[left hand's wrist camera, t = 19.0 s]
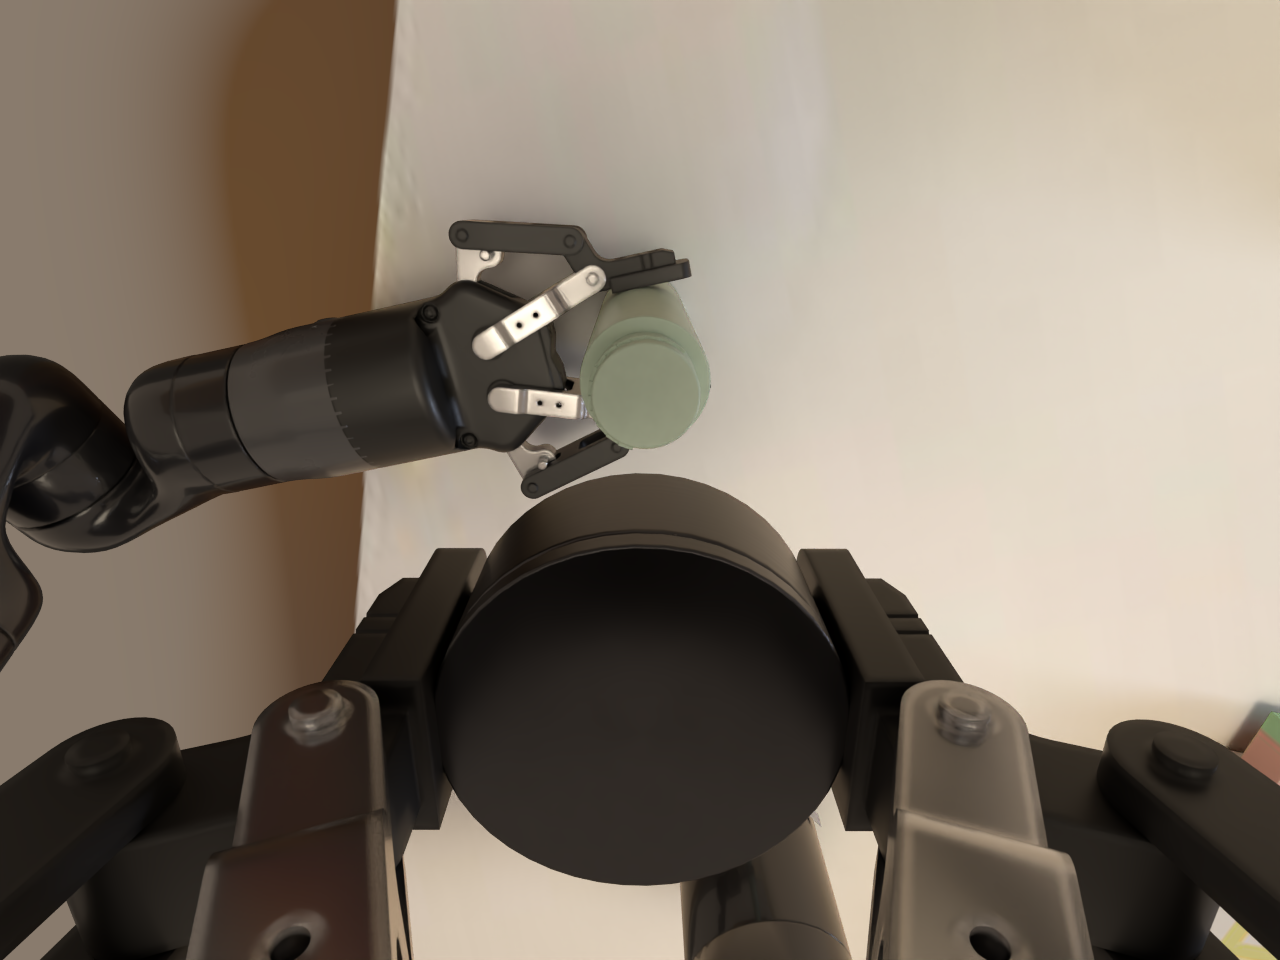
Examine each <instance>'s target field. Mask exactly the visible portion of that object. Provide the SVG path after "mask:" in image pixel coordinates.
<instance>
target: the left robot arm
mask: <svg viewBox="0 0 1280 960" xmlns="http://www.w3.org/2000/svg"><path fill="white" fill-rule="evenodd" d="M486 559H487V557H486V553H485V550H484V549H483V548H438V549H436V550H435V552H434V553H433V555H432V557H431V559H430V560H429V562H428V564H427V565H426V567H425V569H424V571H423V572H422V574H421V576H420V577H419V578H402V579H401V580H399V581H398V582H396V583H395V584H393V585H392V586H391V587H389V588H388V589H386V590H385V591H383V592H382V593H380V594H379V595H378V597H377V598H376V600H375V601H374V603H373V604H372V606H371V608H370V609H369V611H368V612H367V616H366V617H364V618H363V620H362V621H361V623H360V624H359V626H358V627H357V629H356V634H353V635H352V636H351V638H350V639H349V641H348V642H347V644H346V645H345V647H344V648H343V650H342V651H341V653H340V655H339V656H338V658H337V659H336V661H335V662H334V664H333V665H332V667H331V668H330V670H329V671H328V673H327V674H326V676H325V677H324V679H323V680H322V682H318V683H314V684H310V685H307V686H304V687H301V688H298V689H296V690H294V691H292V692H289V693H287V694H286V695H284V696H282V697H280V698H279V699H277V700H276V701H274V702H273V703H272V704H270V705H269V706H268V707H267V708H266V709H265V710H264V711H263V712H262V713H261V714H260V715H259V717H258V718H257V720H256V722H255V723H254V726H253V729H252V734H251V735H248V736H244V737H240V738H236V739H231V740H227V741H222V742H217V743H212V744H208V745H204V746H199V747H194V748H189V749H184V750H180V748H179V744H178V741H177V737H176V734H175V731H174V729H173V727H172V726H171V725H170V724H168V723H166V722H165V721H163V720H159V719H155V718H147V717H142V718H128V719H122V720H117V721H112V722H109V723H105V724H102V725H99V726H96V727H93V728H91V729H88V730H85V731H83V732H81V733H79V734H77V735H74V736H72V737H71V738H69V739H67V740H65V741H63V742H62V743H60V744H59V745H57V746H56V747H54V748H52V749H51V750H50V751H48V752H47V753H45V754H44V755H43V756H41V757H40V758H38V759H37V760H36V761H34V762H33V763H31V764H30V765H28V766H27V767H26V768H24V769H23V770H22V771H20V772H19V773H17V774H16V775H15V776H13V777H12V778H10V779H9V780H8V781H6V782H5V783H3V784H2V785H1V786H0V960H3V959H4V958H5V957H6V956H7V955H8V954H10V953H11V952H12V951H13V950H14V949H15V948H16V947H17V946H18V945H19V944H20V943H21V942H22V941H23V940H25V939H26V938H27V937H28V936H29V935H30V934H31V933H32V932H33V931H34V930H35V929H36V928H37V927H38V926H40V925H41V924H42V923H43V922H44V921H45V920H46V919H47V918H48V917H49V916H50V915H51V914H52V913H53V912H55V911H56V910H57V909H58V908H59V907H60V906H61V905H62V904H63V903H64V902H65V901H67V903H68V906H69V908H70V911H71V913H72V916H73V918H74V921H75V924H76V925H75V926H74V927H73V928H72V929H71V930H70V931H69V932H68V933H67V934H66V935H65V936H64V937H63V938H62V939H61V940H60V941H59V942H58V943H57V944H56V945H55V946H54V947H53V948H52V949H51V950H50V951H49V952H48V953H47V954H45V955H44V956H43V957H42V958H41V959H40V960H414V956H413V945H412V934H411V923H410V913H409V902H408V891H407V880H406V870H405V864H404V857H403V854H404V851H405V849H406V846H407V843H408V840H409V838H410V835H411V832H412V830H440V827H441V823H442V820H443V817H444V814H445V811H446V808H447V805H448V801H449V798H450V795H451V792H452V789H453V788H452V786H451V785H450V783H449V781H448V779H447V777H446V775H445V772H444V770H443V765H442V758H441V750H440V742H439V734H438V726H437V718H436V710H435V700H434V688H435V684H436V680H437V676H438V672H439V669H440V666H441V664H442V661H443V659H444V657H445V654H446V652H447V650H448V647H449V645H450V643H451V640H452V638H453V636H454V633H455V631H456V629H457V626H458V624H459V622H460V619H461V617H462V615H463V612H464V610H465V608H466V605H467V603H468V601H469V598H470V596H471V594H472V592H473V589H474V587H475V585H476V582H477V580H478V578H479V575H480V573H481V571H482V568H483V566H484V564H485V561H486ZM797 563H798V565H799V567H800V569H801V571H802V573H803V575H804V578H805V580H806V582H807V585H808V587H809V589H810V592H811V594H812V596H813V598H814V601H815V603H816V605H817V608H818V610H819V612H820V615H821V617H822V619H823V621H824V624H825V626H826V628H827V631H828V633H829V635H830V638H831V640H832V643H833V645H834V647H835V649H836V651H837V654H838V656H839V658H840V661H841V664H842V667H843V670H844V673H845V676H846V679H847V684H848V690H849V696H850V706H849V716H848V724H847V732H846V740H845V748H844V755H843V761H842V764H841V767H840V770H839V772H838V774H837V776H836V778H835V780H834V782H833V784H832V786H831V788H832V791H833V794H834V797H835V800H836V803H837V806H838V809H839V813H840V816H841V819H842V822H843V825H844V828H845V831H873V832H874V835H875V838H876V841H877V843H878V851H877V857H876V864H875V870H874V880H873V891H872V902H871V913H870V924H869V934H868V945H867V956H866V960H1240V959H1239V958H1238V957H1237V956H1236V955H1235V954H1233V953H1232V952H1231V951H1230V950H1229V949H1228V948H1227V947H1226V946H1225V945H1224V944H1223V943H1222V942H1221V941H1220V940H1219V939H1218V938H1217V937H1216V936H1215V935H1214V934H1213V933H1212V932H1211V931H1210V929H1211V927H1212V924H1213V922H1214V919H1215V917H1216V914H1217V912H1218V909H1219V907H1221V908H1222V909H1223V910H1224V911H1225V912H1226V913H1228V914H1229V915H1230V916H1231V917H1232V918H1233V919H1234V920H1235V921H1236V922H1237V923H1238V924H1239V925H1240V926H1242V927H1243V928H1244V929H1245V930H1246V931H1247V932H1248V933H1249V934H1250V935H1251V936H1252V937H1253V938H1254V939H1255V940H1257V941H1258V942H1259V943H1260V944H1261V945H1262V946H1263V947H1264V948H1265V949H1266V950H1267V951H1268V952H1269V953H1271V954H1272V955H1273V956H1274V957H1275V958H1276V959H1277V960H1280V786H1279V785H1278V784H1277V783H1275V782H1274V781H1272V780H1271V779H1270V778H1268V777H1267V776H1266V775H1264V774H1263V773H1261V772H1260V771H1259V770H1257V769H1256V768H1254V767H1253V766H1252V765H1250V764H1249V763H1247V762H1246V761H1245V760H1243V759H1242V758H1240V757H1239V756H1238V755H1236V754H1235V753H1233V752H1232V751H1230V750H1229V749H1227V748H1226V747H1224V746H1223V745H1221V744H1219V743H1217V742H1216V741H1214V740H1212V739H1210V738H1208V737H1206V736H1204V735H1202V734H1199V733H1197V732H1195V731H1192V730H1189V729H1187V728H1184V727H1181V726H1177V725H1174V724H1170V723H1165V722H1161V721H1154V720H1128V721H1124V722H1121V723H1118V724H1117V725H1115V726H1113V727H1112V728H1111V729H1110V731H1109V733H1108V735H1107V738H1106V742H1105V745H1104V749H1103V751H1100V750H1096V749H1091V748H1086V747H1081V746H1077V745H1072V744H1067V743H1063V742H1058V741H1053V740H1049V739H1045V738H1041V737H1037V736H1034V735H1032V734H1029V733H1028V729H1027V726H1026V723H1025V722H1024V720H1023V718H1022V717H1021V715H1020V714H1019V713H1018V712H1017V711H1016V710H1015V709H1014V708H1013V707H1012V706H1011V705H1010V704H1009V703H1007V702H1006V701H1004V700H1003V699H1001V698H1000V697H998V696H996V695H994V694H993V693H991V692H989V691H986V690H984V689H982V688H979V687H976V686H973V685H970V684H966V683H964V682H963V681H962V679H961V678H960V676H959V675H958V673H957V672H956V670H955V669H954V667H953V666H952V664H951V663H950V661H949V660H948V658H947V657H946V655H945V654H944V652H943V651H942V649H941V648H940V646H939V645H938V643H937V642H936V640H935V639H934V637H933V636H932V635H929V630H928V628H927V627H926V625H925V624H924V623H923V621H922V620H921V618H918V614H917V612H916V611H915V609H914V608H913V606H912V605H911V603H910V602H909V600H908V599H907V597H906V596H905V595H904V594H903V593H901V592H900V591H898V590H897V589H896V588H894V587H893V586H891V585H890V584H888V583H887V582H885V581H884V580H882V579H865V578H864V576H863V574H862V572H861V571H860V569H859V567H858V566H857V564H856V562H855V561H854V559H853V557H852V556H851V554H850V552H849V551H848V550H847V549H800V551H799V553H798V556H797Z"/></svg>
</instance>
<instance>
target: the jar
mask: <svg viewBox="0 0 1280 960" xmlns="http://www.w3.org/2000/svg"><path fill="white" fill-rule="evenodd" d="M710 382H711V380H710V369H709V364H708V361H707V358H706V355H705V353H704V351H703V349H702V346H701V344H700V342H699V340H698V337H697V335H696V333H695V331H694V328H693V326H692V324H691V322H690V320H689V317H688V315H687V313H686V311H685V308H684V306H683V304H682V302H681V299H680V297H679V295H678V293H677V292H676V290H675V289H674V288H673V287H672V286H671V285H670V284H669V283H668V282H666V283H661V284H656V285H652V286H647V287H643V288H638V289H632V290H628V291H624V292H619V293H615V294H612V290H611V289H610V290H609V291H608V293H607V294H606V296H605V298H604V300H603V303H602V306H601V309H600V312H599V315H598V318H597V321H596V324H595V327H594V329H593V332H592V335H591V338H590V341H589V344H588V347H587V350H586V353H585V356H584V359H583V362H582V365H581V371H580V391H581V395H582V399H583V402H584V404H585V407H586V409H587V411H588V413H589V414H590V416H591V417H592V418H593V420H594V421H595V422H596V424H597V426H598V427H599V428H600V429H601V430H602V432H603V433H604V434H605V435H606V437H607V438H609V439H611V440H612V441H614V442H615V443H617V444H618V446H621V447H624V448H627V449H630V450H633V448H639V449H652V448H658V447H662V446H665V445H667V444H669V443H671V442H673V441H675V440H677V439H678V438H679V437H681V436H682V435H683V434H684V433H685V432H686V431H687V430H688V429H689V428H690V426H691V425H692V424H693V423H694V422H695V421H696V420H697V418H698V417H699V416H700V414H701V413H702V411H703V409H704V407H705V405H706V402H707V399H708V396H709V391H710Z"/></svg>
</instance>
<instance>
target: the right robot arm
mask: <svg viewBox="0 0 1280 960" xmlns="http://www.w3.org/2000/svg"><path fill="white" fill-rule="evenodd" d="M449 239H450V241H451V243H452V244H453V245H454V246H455V247H456V266H457V282H455V283H453V284H451V285H450V286H449V287H448V288H447V289H446V290H445V291H444V292H443V293H442V294H440V295H438V296H435V297H431V298H427V299H422V300H418V301H413V302H408V303H404V304H399V305H395V306H390V307H386V308H381V309H377V310H372V311H368V312H363V313H358V314H354V315H350V316H345V317H340V318H325V319H321V320H318V321H317V322H315V323H313V324H309V325H304V326H299V327H295V328H292V329H287V330H285V331H282V332H279V333H276V334H274V335H271V336H269V337H266V338H263V339H261V340H258V341H254V342H251V343H247V344H244V345H239V346H235V347H230V348H226V349H221V350H217V351H212V352H207V353H203V354H198V355H192V356H187V357H183V358H179V359H175V360H171V361H167V362H164V363H161V364H158V365H156V366H153V367H151V368H149V369H148V370H146V371H144V372H143V373H142V374H140V375H139V376H138V377H137V378H136V379H135V380H134V382H133V383H132V385H131V386H130V388H129V390H128V392H127V394H126V398H125V403H124V421H125V424H124V423H123V422H122V421H121V420H120V419H119V418H118V417H117V416H116V415H115V414H114V413H113V412H112V411H111V410H110V409H109V408H108V407H107V406H106V405H105V404H104V403H103V402H102V401H101V400H100V399H98V397H97V396H96V395H95V394H94V393H93V392H92V391H91V390H90V389H89V388H88V387H87V386H86V385H85V384H84V383H83V382H81V381H80V380H79V379H78V378H77V377H76V376H75V375H74V374H73V373H71V372H70V371H68V370H67V369H66V368H64V367H63V366H61V365H59V364H58V363H56V362H54V361H51V360H48V359H46V358H42V357H37V356H31V355H6V356H1V357H0V672H1V670H2V669H3V667H4V666H5V665H6V663H7V662H8V660H9V659H10V657H11V656H12V654H13V653H14V651H15V650H16V649H17V647H18V646H19V644H20V643H21V642H22V640H23V639H24V637H25V636H26V634H27V633H28V631H29V630H30V628H31V627H32V625H33V623H34V622H35V620H36V618H37V616H38V614H39V612H40V610H41V607H42V602H43V596H42V590H41V587H40V585H39V583H38V582H37V580H36V579H35V577H34V576H33V575H32V573H31V572H30V570H29V569H28V568H27V566H26V565H25V564H24V563H23V561H22V560H21V559H20V557H19V556H18V555H17V553H16V552H15V550H14V549H13V547H12V545H11V544H10V542H9V539H8V537H7V534H6V528H5V524H6V522H8V523H9V524H11V525H12V526H13V527H15V528H16V529H18V530H19V531H20V532H22V533H23V534H25V535H26V536H27V537H29V538H30V539H32V540H33V541H35V542H37V543H39V544H41V545H43V546H45V547H48V548H51V549H54V550H59V551H64V552H79V553H92V552H100V551H106V550H109V549H113V548H116V547H118V546H121V545H123V544H125V543H127V542H129V541H131V540H133V539H135V538H137V537H139V536H141V535H142V534H144V533H146V532H148V531H150V530H151V529H153V528H155V527H157V526H159V525H161V524H163V523H165V522H167V521H169V520H171V519H173V518H175V517H177V516H179V515H181V514H183V513H185V512H187V511H189V510H191V509H193V508H195V507H197V506H199V505H201V504H203V503H205V502H207V501H209V500H211V499H213V498H215V497H217V496H220V495H222V494H227V493H233V492H239V491H243V490H248V489H253V488H258V487H262V486H267V485H272V484H277V483H282V482H287V481H293V480H301V479H319V478H330V477H337V476H342V475H347V474H352V473H358V472H363V471H368V470H372V469H377V468H382V467H387V466H392V465H397V464H402V463H407V462H412V461H417V460H422V459H427V458H432V457H437V456H442V455H447V454H452V453H457V452H462V451H466V450H470V449H475V448H486V449H491V450H495V451H498V452H507V453H508V455H509V457H510V458H511V460H512V462H513V463H514V465H515V467H516V468H517V470H518V472H519V473H520V475H521V476H522V478H523V481H522V484H521V491H522V493H523V494H524V495H525V496H526V497H528V498H531V499H536V498H539V497H541V496H543V495H545V494H547V493H549V492H551V491H554V490H556V489H558V488H560V487H562V486H564V485H566V484H568V483H570V482H572V481H574V480H576V479H578V478H581V477H583V476H585V475H587V474H589V473H591V472H593V471H595V470H597V469H599V468H601V467H603V466H606V465H608V464H610V463H612V462H614V461H616V460H618V459H620V458H622V457H624V456H625V455H626V454H627V453H628V451H629V449H627V448H624V447H621V446H618V444H617V443H615V442H614V441H612V440H611V439H609V438H607V437H606V435H605V434H604V433H603V432H602V430H601V429H599V430H597V431H595V432H593V433H591V434H589V435H587V436H585V437H583V438H581V439H579V440H576V441H574V442H572V443H570V444H568V445H566V446H564V447H562V448H560V449H558V450H556V449H555V447H553V446H552V445H550V444H542V445H538V446H535V445H531V444H529V443H528V442H527V441H526V439H527V438H528V437H529V436H530V435H531V434H532V433H533V432H534V430H535V429H536V428H537V427H538V426H539V425H540V424H541V423H542V422H543V420H544V419H545V418H546V417H547V416H550V417H559V418H567V419H584V418H592V417H591V416H590V414H589V413H588V411H587V409H586V407H585V404H584V402H583V399H582V395H581V391H580V378H574V377H567V376H566V372H565V368H564V364H563V362H562V361H561V359H560V357H559V355H558V353H557V352H556V332H555V328H554V324H553V320H555V319H556V318H558V317H559V316H561V315H562V314H564V313H565V312H567V311H568V310H569V309H571V308H573V307H574V306H576V305H577V304H579V303H581V302H582V301H584V300H586V299H587V298H589V297H590V296H592V295H594V294H595V293H597V292H601V291H605V290H610V289H611V290H612V294H615V293H619V292H624V291H628V290H632V289H638V288H643V287H647V286H652V285H656V284H661V283H666V282H670V281H675V280H679V279H684V278H688V277H690V276H692V275H691V270H690V264H689V260H688V259H687V258H686V259H679V260H675V255H674V252H673V250H668V249H663V248H660V249H656V250H651V251H647V252H642V253H638V254H633V255H629V256H624V257H620V258H615V259H605V258H602V257H600V256H599V255H598V254H597V253H596V252H595V250H594V248H593V247H592V245H591V244H590V242H589V240H588V239H587V235H586V233H585V231H584V230H583V229H582V228H581V227H579V226H575V225H558V224H541V223H524V222H506V221H489V220H462V221H457V222H455V223H453V224H452V226H451V227H450V229H449ZM505 252H516V253H534V254H551V255H564V257H565V258H566V260H567V262H568V263H569V265H570V266H571V268H572V269H573V271H574V273H572V274H571V275H569V276H567V277H566V278H564V279H563V280H561V281H559V282H558V283H556V284H554V285H552V286H551V287H549V288H548V289H546V290H544V291H543V292H541V293H540V294H538V295H537V296H535V297H533V298H532V299H530V300H529V301H527V300H525V299H522V298H520V297H518V296H516V295H513V294H511V293H509V292H507V291H504V290H502V289H500V288H498V287H495V286H493V285H491V284H489V283H487V282H484V281H482V280H481V274H482V272H483V271H484V270H485V269H486V268H492V267H495V266H497V265H499V264H500V263H501V262H502V261H503V259H504V255H505ZM565 388H566V389H567V390H565ZM710 388H711V384H710ZM558 403H561V405H558ZM813 820H815V821H816V822H817V823H818V824H819V825H820V826H821V823H820V820H819V816H818V814H817V813H816V812H815V811H814V812H813V813H812V814H811V815H810V816H809V818H808V819H807V820H806V821H805V822H804V823H803V824H802V825H801V826H800V827H799V828H798V829H796V830H795V831H794V832H793V833H792V834H791V835H789V836H788V837H787V838H786V839H785V840H783V841H782V842H781V843H779V844H778V845H776V846H774V847H773V848H771V849H770V850H768V851H767V852H765V853H764V854H762V855H760V856H758V857H756V858H754V859H752V860H750V861H748V862H746V863H745V864H743V865H740V866H737V867H735V868H732V869H730V870H727V871H725V872H722V873H719V874H715V875H712V876H708V877H704V878H701V879H697V880H692V881H686V882H680V890H681V907H682V923H683V940H684V956H685V960H852V958H851V954H850V950H849V947H848V943H847V940H846V936H845V933H844V929H843V925H842V922H841V918H840V915H839V911H838V907H837V904H836V900H835V897H834V893H833V890H832V886H831V882H830V879H829V875H828V872H827V868H826V865H825V861H824V857H823V854H822V850H821V847H820V843H819V839H818V836H817V832H816V829H815V825H814V822H813Z"/></svg>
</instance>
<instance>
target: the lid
mask: <svg viewBox="0 0 1280 960" xmlns="http://www.w3.org/2000/svg"><path fill="white" fill-rule="evenodd" d="M434 700H435V710H436V718H437V726H438V734H439V742H440V750H441V758H442V765H443V770H444V772H445V775H446V777H447V779H448V781H449V783H450V785H451V786H452V788H453V790H454V791H455V793H456V795H457V796H458V798H459V800H460V801H461V802H462V803H463V805H464V806H465V807H466V808H467V810H468V811H469V812H470V813H471V815H472V816H473V817H474V818H475V819H476V820H477V821H478V822H479V823H480V824H481V825H482V826H483V827H484V828H485V829H486V830H487V831H488V832H490V833H491V834H492V835H493V836H495V837H496V838H497V839H499V840H500V841H501V842H503V843H504V844H505V845H507V846H508V847H509V848H511V849H513V850H514V851H516V852H518V853H520V854H521V855H523V856H525V857H526V858H528V859H530V860H532V861H534V862H537V863H539V864H541V865H543V866H546V867H548V868H550V869H553V870H556V871H559V872H562V873H565V874H568V875H571V876H574V877H578V878H582V879H587V880H591V881H596V882H602V883H610V884H619V885H643V886H649V885H663V884H674V883H680V882H686V881H692V880H697V879H701V878H704V877H708V876H712V875H715V874H719V873H722V872H725V871H727V870H730V869H732V868H735V867H737V866H740V865H743V864H745V863H746V862H748V861H750V860H752V859H754V858H756V857H758V856H760V855H762V854H764V853H765V852H767V851H768V850H770V849H771V848H773V847H774V846H776V845H778V844H779V843H781V842H782V841H783V840H785V839H786V838H787V837H788V836H789V835H791V834H792V833H793V832H794V831H795V830H796V829H798V828H799V827H800V826H801V825H802V824H803V823H804V822H805V821H806V820H807V819H808V818H809V816H810V815H811V814H812V813H813V812H814V811H815V810H816V809H817V807H818V806H819V804H820V803H821V802H822V800H823V799H824V797H825V796H826V795H827V793H828V792H829V790H830V788H831V786H832V784H833V782H834V780H835V778H836V776H837V774H838V772H839V770H840V767H841V764H842V761H843V755H844V748H845V740H846V732H847V724H848V716H849V706H850V696H849V690H848V684H847V679H846V676H845V673H844V670H843V667H842V664H841V661H840V658H839V656H838V654H837V651H836V649H835V647H834V645H833V643H832V640H831V638H830V635H829V633H828V631H827V628H826V626H825V624H824V621H823V619H822V617H821V615H820V612H819V610H818V608H817V605H816V603H815V601H814V598H813V596H812V594H811V592H810V589H809V587H808V585H807V582H806V580H805V578H804V575H803V573H802V571H801V569H800V567H799V565H798V563H797V561H796V559H795V557H794V555H793V553H792V551H791V550H790V549H789V547H788V546H787V544H786V543H785V542H784V540H783V539H782V537H781V536H780V535H779V533H778V532H777V531H776V530H775V529H774V528H773V527H772V526H771V525H770V524H769V523H768V522H767V521H766V520H765V519H764V518H763V517H761V516H760V515H759V514H758V513H756V512H755V511H754V510H753V509H751V508H750V507H749V506H748V505H746V504H744V503H743V502H741V501H739V500H738V499H736V498H734V497H733V496H731V495H729V494H727V493H725V492H723V491H720V490H718V489H716V488H713V487H711V486H709V485H706V484H703V483H700V482H696V481H693V480H689V479H686V478H681V477H675V476H668V475H662V474H639V473H634V474H623V475H612V476H607V477H603V478H598V479H593V480H589V481H586V482H583V483H580V484H577V485H574V486H572V487H569V488H566V489H564V490H562V491H560V492H558V493H556V494H554V495H552V496H550V497H548V498H546V499H544V500H543V501H541V502H540V503H539V504H537V505H536V506H534V507H533V508H531V509H530V510H528V511H527V512H526V513H525V514H523V515H522V516H521V517H520V518H519V519H518V520H517V521H516V522H515V523H514V524H512V525H511V526H510V527H509V529H508V530H507V531H506V532H505V533H504V535H503V536H502V537H501V538H500V539H499V541H498V542H497V543H496V545H495V546H494V548H493V550H492V551H491V553H490V555H489V556H488V558H487V559H486V561H485V564H484V566H483V568H482V571H481V573H480V575H479V578H478V580H477V582H476V585H475V587H474V589H473V592H472V594H471V596H470V598H469V601H468V603H467V605H466V608H465V610H464V612H463V615H462V617H461V619H460V622H459V624H458V626H457V629H456V631H455V633H454V636H453V638H452V640H451V643H450V645H449V647H448V650H447V652H446V654H445V657H444V659H443V661H442V664H441V666H440V669H439V672H438V676H437V680H436V684H435V688H434Z"/></svg>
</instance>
